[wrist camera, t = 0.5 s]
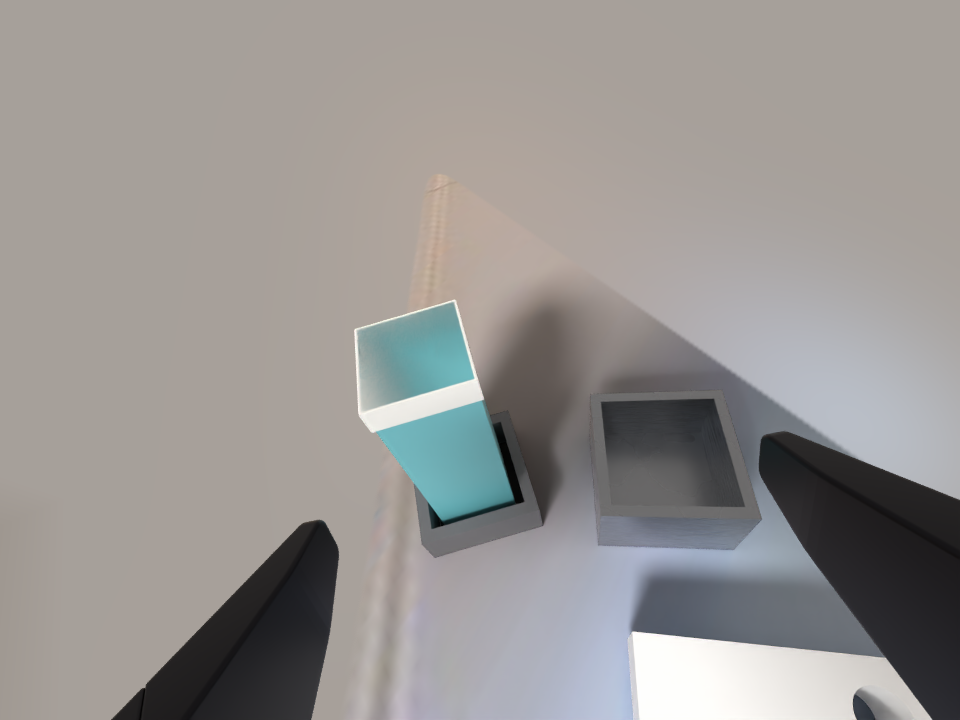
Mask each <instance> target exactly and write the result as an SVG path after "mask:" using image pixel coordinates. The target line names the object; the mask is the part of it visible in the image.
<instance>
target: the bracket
mask: <svg viewBox="0 0 960 720" xmlns="http://www.w3.org/2000/svg"><path fill="white" fill-rule="evenodd" d="M627 640H628V653H629V666H630V679H631V693H632V706H633V719H634V720H857V719H856V717H855V714H854V711H853V697H854V694H856V695H857V696H859V697H860V698H861V699H862V700H863V701H864V702H865V703H866V704H867V705H868V706H869V708H870V709H871V711H872V713H873V714H874V717H875V719H876V720H932V719H931V717H930V716H929V715H928V713H927V712H926V711H925V709H924V708H923V707H922V705H921V704H920V703H919V701H918V700H917V699H916V697H915V696H914V695H913V693H912V692H911V691H910V689H909V688H908V687H907V685H906V684H905V683H904V681H903V680H902V679H901V677H900V676H899V675H898V673H897V672H896V671H895V669H894V668H893V667H892V665H891V664H890V663H889V661H888V660H887V659H886V658H882V657H873V656H863V655H853V654H844V653H834V652H825V651H815V650H805V649H796V648H786V647H776V646H767V645H757V644H748V643H738V642H728V641H719V640H709V639H700V638H690V637H680V636H671V635H661V634H651V633H642V632H632V633H631V634H630V636H629V638H628V639H627Z"/></svg>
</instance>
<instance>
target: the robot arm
mask: <svg viewBox="0 0 960 720" xmlns="http://www.w3.org/2000/svg"><path fill="white" fill-rule="evenodd" d="M759 472H760V475H761V478H762V480H763V481H764V483H765V485H766V486H767V488H768V490H769V491H770V493H771V495H772V496H773V498H774V500H775V501H776V503H777V505H778V506H779V508H780V510H781V511H782V513H783V515H784V516H785V518H786V520H787V521H788V523H789V525H790V526H791V528H792V530H793V531H794V533H795V534H796V536H797V538H798V539H799V541H800V542H801V544H802V546H803V547H804V549H805V550H806V552H807V553H808V554H809V556H810V557H811V559H812V560H813V561H814V563H815V564H816V565H817V567H818V568H819V569H820V571H821V572H822V573H823V575H824V576H825V577H826V579H827V580H828V581H829V583H830V584H831V585H832V587H833V588H834V589H835V591H836V592H837V593H838V595H839V596H840V597H841V599H842V600H843V601H844V603H845V604H846V605H847V607H848V608H849V609H850V611H851V612H852V613H853V615H854V616H855V617H856V619H857V620H858V621H859V623H860V624H861V625H862V627H863V628H864V629H865V631H866V632H867V633H868V635H869V636H870V637H871V639H872V640H873V641H874V643H875V644H876V645H877V647H878V648H879V649H880V651H881V652H882V653H883V655H884V656H885V657H886V659H887V660H888V661H889V663H890V664H891V665H892V667H893V668H894V669H895V671H896V672H897V673H898V675H899V676H900V677H901V679H902V680H903V681H904V683H905V684H906V685H907V687H908V688H909V689H910V691H911V692H912V693H913V695H914V696H915V697H916V699H917V700H918V701H919V703H920V704H921V705H922V707H923V708H924V709H925V711H926V712H927V713H928V715H929V716H930V717H931V719H932V720H960V500H958V499H956V498H953V497H951V496H948V495H946V494H943V493H941V492H938V491H936V490H933V489H931V488H928V487H926V486H923V485H921V484H918V483H916V482H913V481H911V480H908V479H906V478H903V477H900V476H898V475H896V474H893V473H890V472H888V471H885V470H883V469H880V468H878V467H875V466H873V465H870V464H868V463H865V462H863V461H860V460H858V459H855V458H853V457H850V456H848V455H845V454H843V453H840V452H838V451H835V450H833V449H830V448H827V447H825V446H822V445H820V444H817V443H815V442H812V441H810V440H807V439H805V438H802V437H800V436H797V435H795V434H792V433H789V432H785V431H783V432H777V433H771V434H766V435H764V436H763V437H762V439H761V445H760V456H759ZM338 560H339V551H338V547H337V544H336V542H335V540H334V538H333V537H332V535H331V533H330V531H329V529H328V527H327V525H326V523H325V522H324V521H322V520H315V521H310V522H305V523H303V524H301V525H300V526H299V527H298V528H297V529H296V530H295V531H294V532H293V533H292V534H291V535H290V536H289V537H288V538H287V539H286V540H285V541H284V542H283V543H282V545H281V546H280V547H279V548H278V549H277V550H276V551H275V552H274V553H273V554H272V555H271V556H270V557H269V558H268V559H267V560H266V561H265V562H264V563H263V564H262V565H261V566H260V567H259V568H258V569H257V570H256V571H255V572H254V574H252V576H250V578H249V579H248V580H247V581H246V582H245V583H244V584H243V585H242V586H241V587H240V588H239V589H238V590H237V591H236V592H235V593H234V594H233V595H232V596H231V597H230V598H229V599H228V600H227V601H226V602H225V603H224V604H223V605H222V606H221V608H220V609H218V611H217V612H216V613H215V614H214V615H213V616H212V617H211V618H210V619H209V620H208V621H207V622H206V623H205V624H204V625H203V626H202V627H201V628H200V629H199V630H198V631H197V632H196V633H195V634H194V635H193V636H192V637H191V638H190V639H189V640H188V642H186V644H185V645H184V646H183V647H182V648H181V649H180V650H179V651H178V652H177V653H176V654H175V655H174V656H173V657H172V658H171V659H170V660H169V661H168V662H167V663H166V664H165V665H164V666H163V667H162V668H161V669H160V670H159V671H158V673H157V674H155V676H154V677H153V678H152V679H151V680H150V681H149V682H148V683H147V684H146V687H145V688H142V689H141V690H140V691H139V692H138V693H137V694H136V695H135V696H134V697H133V698H132V699H131V700H130V701H129V702H128V703H127V704H126V705H125V706H124V707H123V708H122V709H121V710H120V711H119V712H118V713H117V714H116V715H115V716H114V717H113V719H111V720H311V718H312V713H313V709H314V705H315V700H316V695H317V691H318V686H319V682H320V677H321V672H322V668H323V663H324V658H325V654H326V649H327V644H328V639H329V634H330V628H331V621H332V613H333V604H334V595H335V586H336V577H337V569H338Z"/></svg>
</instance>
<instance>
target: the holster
mask: <svg viewBox="0 0 960 720" xmlns="http://www.w3.org/2000/svg"><path fill="white" fill-rule="evenodd" d="M490 418H491V421H492V425H493V428H494V431H495V434H496V437H497V440H498V443H499V444H500V443H503V442H507V445H508V448H509V452H510V455H511V458H512V462H513V465H514V469H515V472H516V475H517V479H518V482H519V485H520V489H521V492H522V495H523V499H524V502H523V503H519V504H516V505H513V506H509V507H506V508H502V509H499V510H496V511H492V512H489V513H485V514H482V515H479V516H475V517H472V518H468V519H465V520H462V521H458V522H455V523H452V524H448V525H445V526H441V525H440V519H439V516H438V515H437V513H436V512H435V511H434V509H433V508H432V507H431V505H430V504H429V503H428V501H427V500H426V499H425V497H424V496H423V495H422V493H421V492H420V490H419V489H418V488H417V486H416V485H415V484H414V488H415V496H416V503H417V511H418V519H419V526H420V534H421V541H422V545H423V546H424V547H425V548H426V549H427V550H428V551H429V552H430V553H431V554H432V555H433V556H434V557H439V556H442V555H445V554H449V553H452V552H456V551H459V550H462V549H466V548H469V547H473V546H476V545H479V544H483V543H486V542H490V541H493V540H496V539H500V538H503V537H506V536H510V535H513V534H517V533H520V532H523V531H527V530H530V529H534V528H537V527H540V526H543V524H542V519H541V515H540V510H539V507H538V504H537V500H536V497H535V494H534V491H533V488H532V485H531V482H530V478H529V475H528V472H527V469H526V466H525V463H524V460H523V456H522V453H521V450H520V447H519V444H518V441H517V438H516V434H515V431H514V428H513V425H512V422H511V419H510V416H509V412H508V411H504V412H501V413H497V414H494V415H491V416H490Z"/></svg>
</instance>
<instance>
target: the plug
mask: <svg viewBox="0 0 960 720" xmlns="http://www.w3.org/2000/svg"><path fill="white" fill-rule="evenodd" d="M354 331H355V352H356V372H357V392H358V413H359V417H360V418H361V419H362V421H363V422H364V423H365V425H366V426H367V427H368V428H369V430H370V431H371V432H372V433H373V432H376V433H377V434H378V435H379V437H380V438H381V439H382V441H383V442H384V443H385V445H386V446H387V447H388V449H389V450H390V451H391V453H392V454H393V455H394V457H395V458H396V460H397V461H398V462H399V464H400V465H401V466H402V468H403V469H404V470H405V472H406V473H407V474H408V476H409V477H410V478H411V480H412V481H413V482H414V484H415V485H416V486H417V488H418V489H419V490H420V492H421V493H422V495H423V496H424V497H425V499H426V500H427V501H428V503H429V504H430V505H431V507H432V508H433V509H434V511H435V512H436V513H437V515H438V516H439V517H440V519H441V520H442V521H443V523H444V524H445V525H448V524H452V523H455V522H458V521H462V520H465V519H468V518H472V517H475V516H479V515H482V514H485V513H489V512H492V511H496V510H499V509H502V508H506V507H509V506H513V505H516V502H515V499H514V495H513V492H512V488H511V485H510V481H509V478H508V474H507V471H506V467H505V464H504V460H503V457H502V453H501V450H500V447H499V443H498V440H497V437H496V434H495V431H494V428H493V425H492V421H491V418H490V415H489V412H488V409H487V406H486V403H485V399H484V396H483V393H482V390H481V386H480V383H479V379H478V376H477V372H476V369H475V365H474V361H473V358H472V354H471V351H470V347H469V344H468V340H467V337H466V333H465V329H464V326H463V322H462V319H461V316H460V312H459V309H458V306H457V303H456V300H452V301H449V302H445V303H442V304H439V305H435V306H432V307H428V308H425V309H422V310H418V311H415V312H411V313H408V314H405V315H401V316H398V317H394V318H391V319H388V320H384V321H381V322H378V323H374V324H371V325H368V326H364V327H360V328H357V329H355V330H354Z"/></svg>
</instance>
